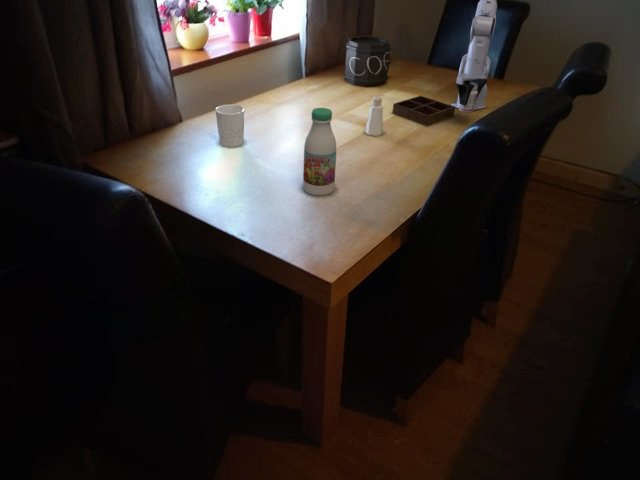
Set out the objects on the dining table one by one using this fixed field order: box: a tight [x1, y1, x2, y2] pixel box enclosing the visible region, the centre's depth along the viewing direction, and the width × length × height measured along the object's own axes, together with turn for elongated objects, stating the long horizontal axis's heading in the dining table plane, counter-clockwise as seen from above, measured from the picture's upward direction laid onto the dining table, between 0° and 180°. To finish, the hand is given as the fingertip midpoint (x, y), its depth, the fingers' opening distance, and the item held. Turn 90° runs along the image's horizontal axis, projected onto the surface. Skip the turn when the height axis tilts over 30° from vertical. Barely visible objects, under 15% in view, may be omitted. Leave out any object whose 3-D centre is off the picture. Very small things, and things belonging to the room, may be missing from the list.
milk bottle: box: [302, 107, 337, 196], centre depth 119 cm, size 8×8×20 cm
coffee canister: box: [344, 35, 392, 88], centre depth 198 cm, size 18×18×16 cm
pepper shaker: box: [364, 96, 384, 137], centre depth 154 cm, size 5×5×11 cm
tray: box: [392, 95, 456, 127], centre depth 171 cm, size 15×15×3 cm
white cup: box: [215, 104, 245, 148], centre depth 144 cm, size 8×8×10 cm
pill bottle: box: [458, 82, 478, 113], centre depth 160 cm, size 5×5×8 cm
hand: (467, 102), depth 161 cm, fingers closed on pill bottle, 5 cm apart
